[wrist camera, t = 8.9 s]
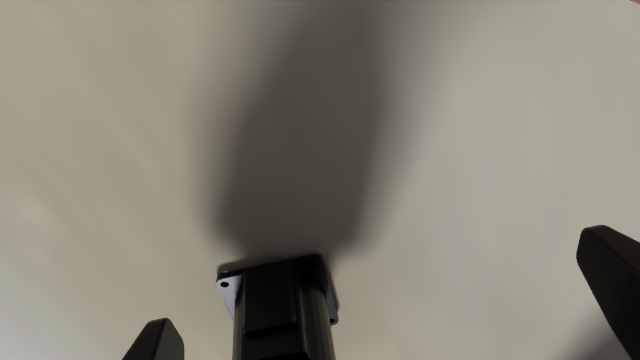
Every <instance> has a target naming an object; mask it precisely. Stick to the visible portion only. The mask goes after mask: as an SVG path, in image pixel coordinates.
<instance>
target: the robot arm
mask: <svg viewBox="0 0 640 360" xmlns="http://www.w3.org/2000/svg"><path fill="white" fill-rule="evenodd" d="M576 259H577V263H578V265H579V267H580V269H581V271H582V273H583V275H584V277H585V279H586V281H587V283H588V285H589V287H590V289H591V291H592V293H593V295H594V297H595V298H596V300H597V302H598V304H599V306H600V308H601V310H602V312H603V314H604V316H605V318H606V320H607V322H608V323H609V325H610V327H611V329H612V330H613V332H614V334H615V335H616V337H617V338H618V340H619V341H620V343H621V344H622V346H623V347H624V349H625V351H626V352H627V354H628V355H629V357H630V358H631V360H640V242H638V241H636V240H634V239H632V238H630V237H628V236H626V235H624V234H622V233H620V232H618V231H616V230H614V229H612V228H610V227H608V226H605V225H597V226H592V227H587V228H584V229H583V230H582V232H581V235H580V240H579V244H578V249H577V253H576ZM314 262H317V263H314ZM216 287H217V289H218V291H219V293H220V295H221V297H222V299H223V301H224V303H225V305H226V307H227V309H228V311H229V313H230V315H231V317H232V319H233V321H234V330H233V355H232V360H336V358H335V352H334V346H333V339H332V333H331V327H330V326H332V325H335V324H336V323H337V322H338V314H337V310H336V306H335V302H334V298H333V295H332V291H331V287H330V283H329V279H328V275H327V271H326V267H325V264H324V260H323V257H322V256H321V255H318V254H313V255H308V256H304V257H299V258H294V259H290V260H285V261H280V262H276V263H271V264H266V265H262V266H257V267H252V268H248V269H243V270H239V271H234V272H229V273H225V274H221V275H219V276H218V277H217V279H216ZM122 360H184V344H183V340H182V338H181V336H180V335H179V333H178V332H177V330H176V328H175V327H174V325H173V324H172V322H171V321H170V319H168V318H162V319H157V320H152V321H150V322H148V323H147V324H146V326H145V327H144V328H143V330H142V331H141V333H140V334H139V336H138V337H137V339H136V340H135V341H134V343H133V344H132V346H131V347H130V349H129V350H128V352H127V353H126V354H125V356H124V357H123V359H122Z"/></svg>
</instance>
